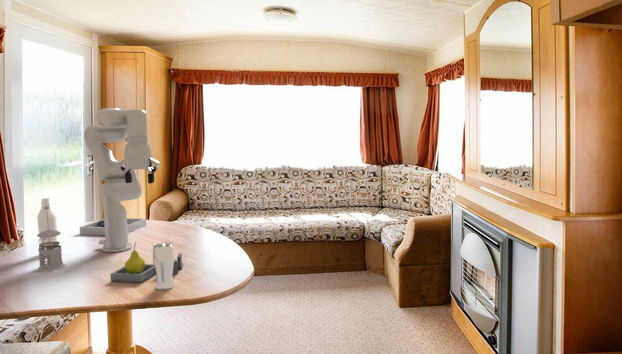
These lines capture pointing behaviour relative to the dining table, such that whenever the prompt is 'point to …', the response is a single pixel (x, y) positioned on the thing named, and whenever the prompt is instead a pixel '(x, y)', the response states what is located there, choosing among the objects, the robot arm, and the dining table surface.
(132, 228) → the tray
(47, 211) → the water bottle
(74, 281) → the dining table surface
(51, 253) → the french press
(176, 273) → the clip
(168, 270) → the beer glass
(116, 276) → the grey square tray
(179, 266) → the clip
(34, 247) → the dining table surface
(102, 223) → the pipe connector
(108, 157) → the robot arm
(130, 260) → the fruit
